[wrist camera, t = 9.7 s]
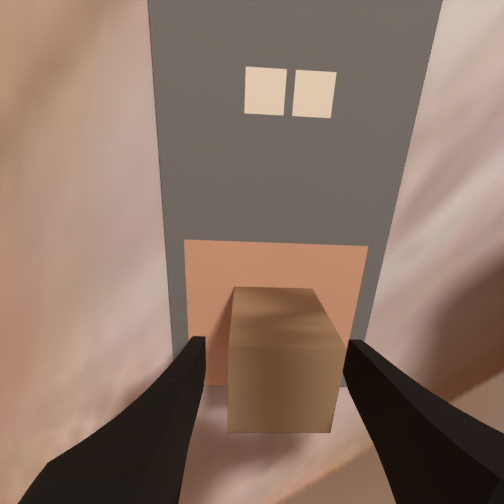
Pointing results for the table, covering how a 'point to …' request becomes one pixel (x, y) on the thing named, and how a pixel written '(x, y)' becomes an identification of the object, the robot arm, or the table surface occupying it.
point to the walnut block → (282, 362)
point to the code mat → (282, 151)
